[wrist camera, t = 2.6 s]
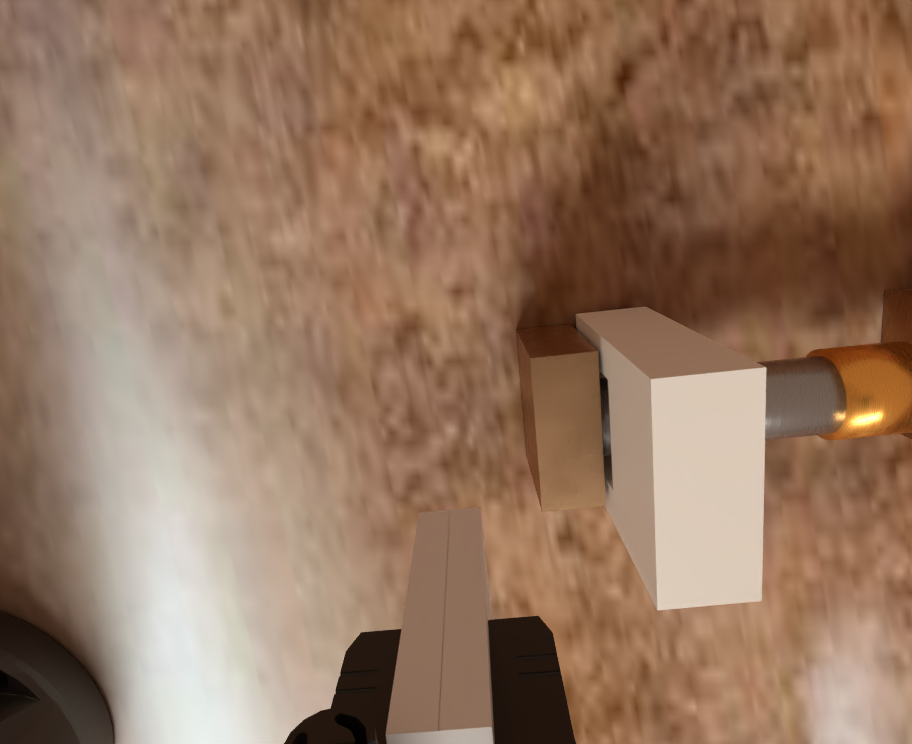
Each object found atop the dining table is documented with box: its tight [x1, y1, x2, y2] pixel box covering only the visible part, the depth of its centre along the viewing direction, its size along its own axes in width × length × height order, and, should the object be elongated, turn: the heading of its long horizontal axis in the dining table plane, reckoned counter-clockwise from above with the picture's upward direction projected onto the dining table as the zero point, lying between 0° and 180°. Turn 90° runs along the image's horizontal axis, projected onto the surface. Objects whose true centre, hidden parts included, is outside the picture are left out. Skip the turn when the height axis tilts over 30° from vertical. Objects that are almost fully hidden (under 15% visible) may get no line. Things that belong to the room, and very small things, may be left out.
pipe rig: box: [516, 288, 912, 512], centre depth 25 cm, size 18×6×6 cm, turn 96°
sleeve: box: [576, 307, 766, 610], centre depth 22 cm, size 3×7×11 cm, turn 6°
